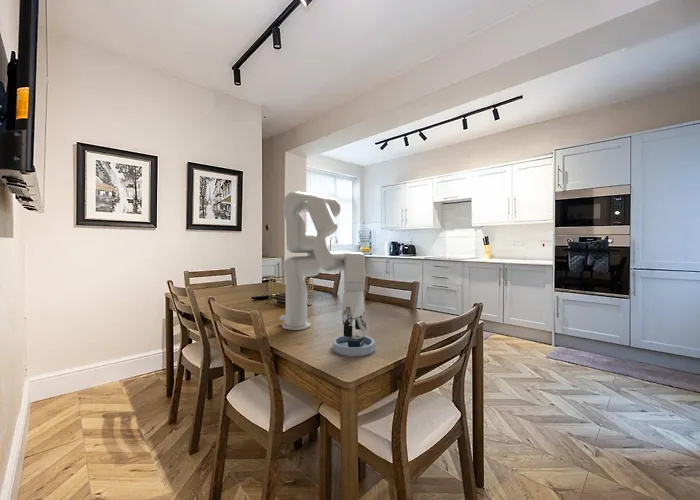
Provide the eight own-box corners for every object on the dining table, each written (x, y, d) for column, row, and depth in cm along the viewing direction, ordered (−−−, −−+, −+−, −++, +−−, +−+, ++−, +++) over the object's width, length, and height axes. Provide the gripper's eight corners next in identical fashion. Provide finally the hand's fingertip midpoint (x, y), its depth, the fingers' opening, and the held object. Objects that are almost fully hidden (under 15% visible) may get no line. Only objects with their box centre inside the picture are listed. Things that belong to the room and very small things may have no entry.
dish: (325, 351, 115) (325, 343, 115) (344, 339, 129) (344, 332, 129) (364, 359, 109) (364, 350, 109) (380, 345, 122) (380, 338, 122)
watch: (364, 350, 115) (365, 319, 114) (343, 347, 117) (343, 317, 117) (368, 345, 120) (368, 315, 120) (347, 343, 122) (347, 314, 122)
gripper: (354, 282, 127) (354, 325, 128) (333, 288, 112) (333, 338, 113) (372, 283, 124) (372, 328, 125) (353, 290, 108) (353, 341, 109)
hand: (353, 332), depth 119 cm, fingers open, 9 cm apart
